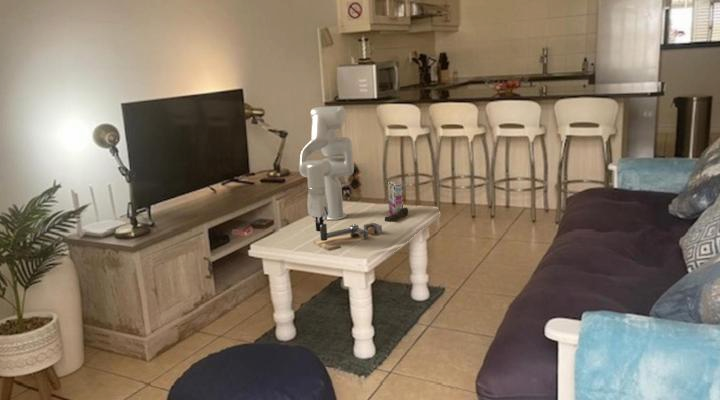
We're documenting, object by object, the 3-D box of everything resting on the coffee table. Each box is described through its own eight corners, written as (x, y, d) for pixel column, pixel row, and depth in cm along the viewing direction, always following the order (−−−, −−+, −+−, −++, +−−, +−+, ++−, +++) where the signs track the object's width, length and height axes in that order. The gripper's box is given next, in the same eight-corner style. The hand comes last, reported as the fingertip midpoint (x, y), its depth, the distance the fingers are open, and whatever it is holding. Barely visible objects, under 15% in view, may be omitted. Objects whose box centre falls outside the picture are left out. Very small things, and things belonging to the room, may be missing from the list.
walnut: (366, 234, 273) (365, 226, 273) (372, 232, 275) (372, 225, 274) (370, 236, 270) (369, 228, 270) (376, 234, 272) (376, 226, 271)
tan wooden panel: (313, 243, 268) (313, 232, 267) (369, 230, 283) (368, 220, 282) (327, 250, 257) (326, 239, 256) (384, 236, 273) (383, 225, 271)
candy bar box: (404, 215, 307) (402, 184, 303) (395, 216, 305) (393, 185, 302) (397, 210, 317) (396, 180, 313) (388, 211, 316) (387, 181, 312)
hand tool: (390, 224, 292) (390, 215, 291) (384, 223, 294) (384, 214, 293) (412, 215, 306) (412, 207, 305) (406, 215, 309) (405, 206, 307)
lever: (319, 242, 264) (317, 224, 262) (357, 233, 274) (356, 215, 273) (329, 247, 256) (328, 228, 254) (368, 238, 266) (367, 220, 264)
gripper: (300, 190, 265) (303, 229, 269) (320, 194, 254) (323, 235, 258) (313, 187, 270) (316, 225, 274) (334, 191, 259) (336, 231, 263)
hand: (320, 230), depth 266 cm, fingers closed
